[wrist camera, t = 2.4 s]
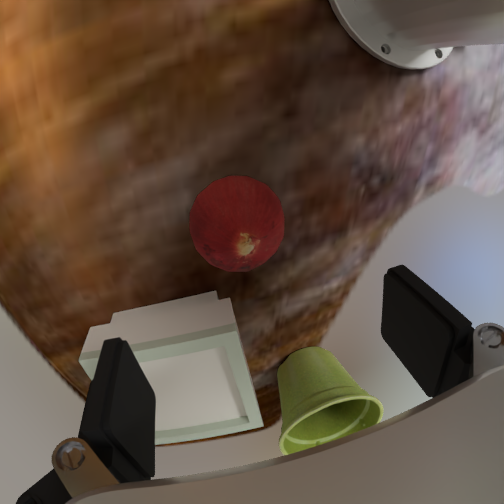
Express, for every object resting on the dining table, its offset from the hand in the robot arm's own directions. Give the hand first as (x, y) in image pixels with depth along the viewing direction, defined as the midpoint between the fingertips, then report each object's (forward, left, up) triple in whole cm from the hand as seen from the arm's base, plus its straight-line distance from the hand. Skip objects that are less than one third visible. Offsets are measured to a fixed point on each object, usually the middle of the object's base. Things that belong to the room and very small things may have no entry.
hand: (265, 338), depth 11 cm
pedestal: (+7, +11, -14) cm, 19 cm away
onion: (0, 0, -14) cm, 14 cm away
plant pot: (-4, +18, -14) cm, 23 cm away
